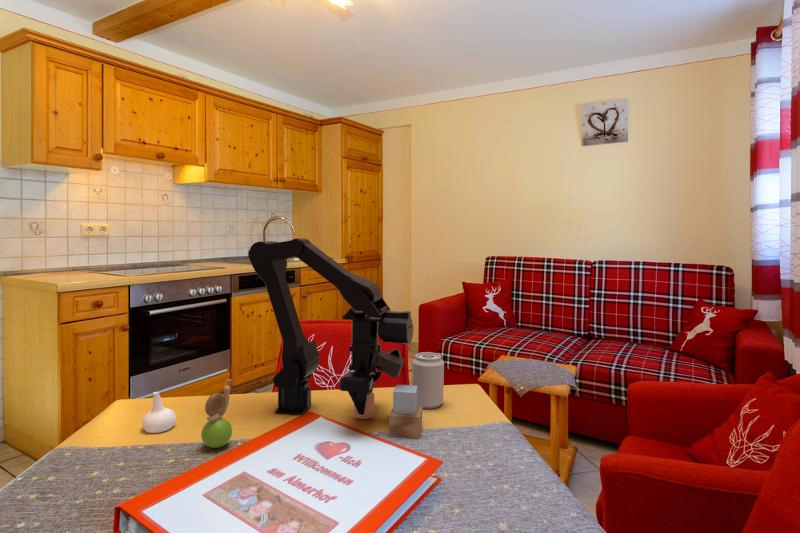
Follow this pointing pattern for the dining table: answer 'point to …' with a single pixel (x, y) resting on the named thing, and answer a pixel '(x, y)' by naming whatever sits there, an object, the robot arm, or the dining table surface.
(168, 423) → the garlic bulb
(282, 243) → the robot arm
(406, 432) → the walnut base block
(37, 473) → the dining table surface
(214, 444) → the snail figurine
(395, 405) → the slate cube
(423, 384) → the can
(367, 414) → the terracotta cylinder
